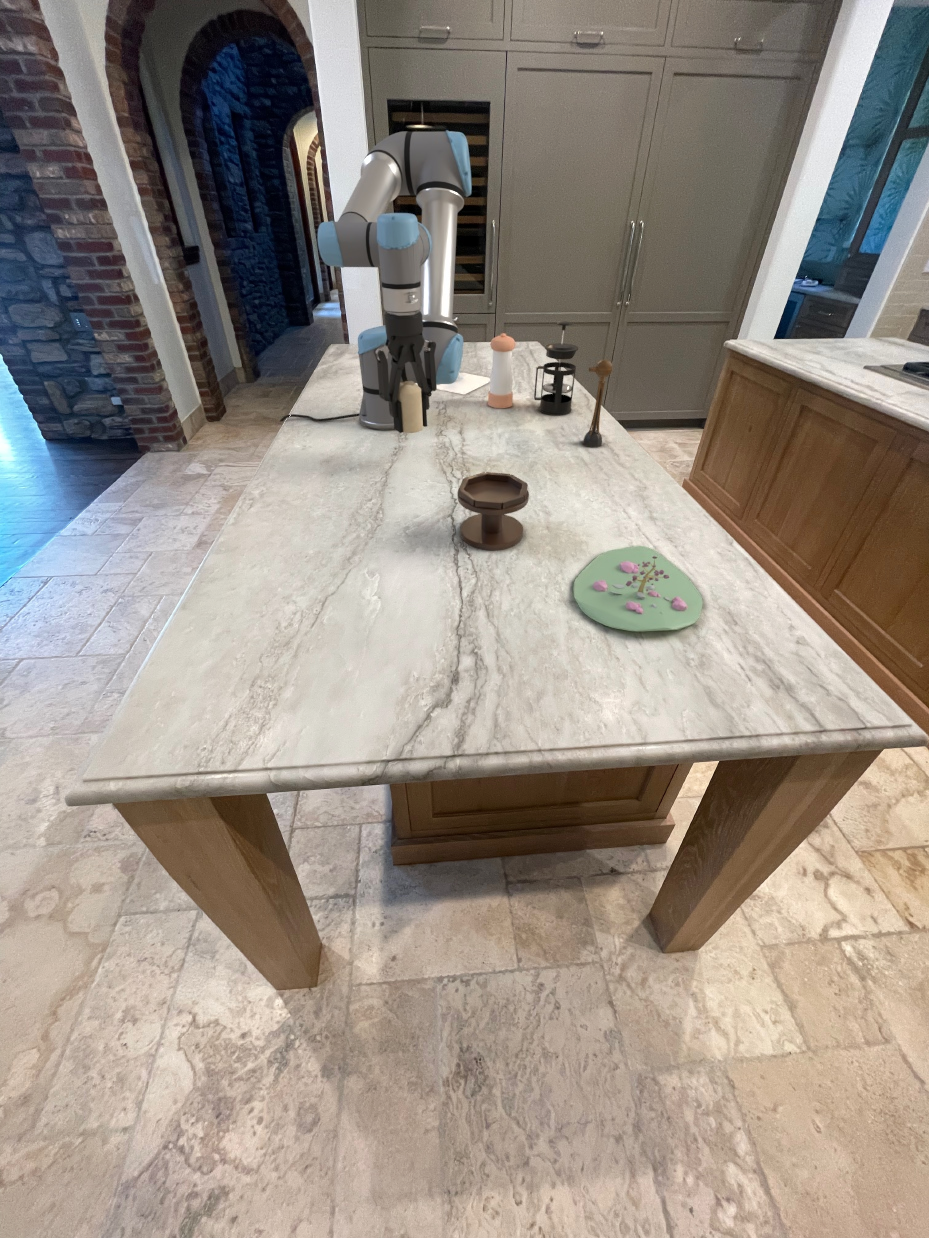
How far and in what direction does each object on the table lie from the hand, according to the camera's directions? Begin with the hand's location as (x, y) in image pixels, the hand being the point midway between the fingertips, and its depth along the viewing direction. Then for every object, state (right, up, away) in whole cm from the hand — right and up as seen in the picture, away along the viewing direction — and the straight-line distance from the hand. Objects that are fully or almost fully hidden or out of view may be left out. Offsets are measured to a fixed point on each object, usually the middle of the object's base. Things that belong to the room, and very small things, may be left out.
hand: (410, 427), depth 121 cm
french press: (+38, +18, +36) cm, 55 cm away
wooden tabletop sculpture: (+44, +1, +16) cm, 47 cm away
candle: (0, 0, 0) cm, 1 cm away
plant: (+40, -38, -32) cm, 64 cm away
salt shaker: (+23, +21, +40) cm, 50 cm away
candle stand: (+17, -27, -18) cm, 37 cm away
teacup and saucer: (+9, +36, +58) cm, 68 cm away
